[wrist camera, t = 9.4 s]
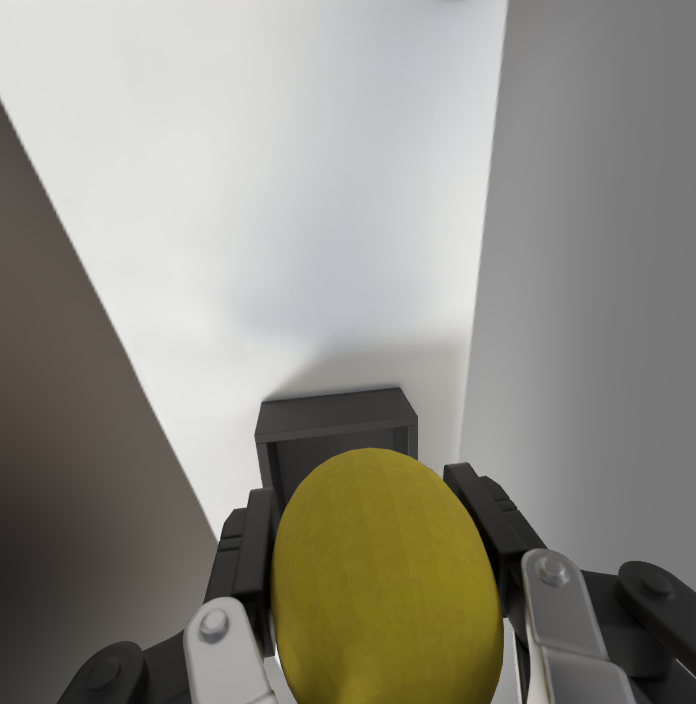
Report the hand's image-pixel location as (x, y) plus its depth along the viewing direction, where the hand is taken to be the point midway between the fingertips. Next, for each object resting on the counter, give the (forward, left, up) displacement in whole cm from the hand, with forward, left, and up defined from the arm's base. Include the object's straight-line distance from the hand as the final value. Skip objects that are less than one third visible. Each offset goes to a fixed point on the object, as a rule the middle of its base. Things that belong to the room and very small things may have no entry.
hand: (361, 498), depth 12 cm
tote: (+11, 0, -17) cm, 20 cm away
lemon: (0, 0, -2) cm, 2 cm away
